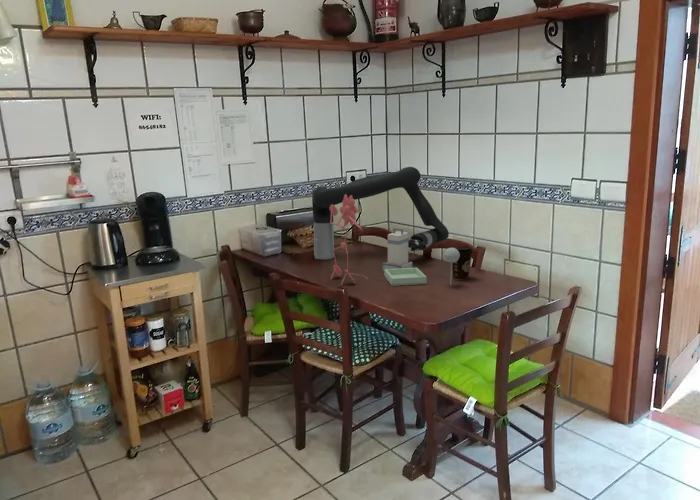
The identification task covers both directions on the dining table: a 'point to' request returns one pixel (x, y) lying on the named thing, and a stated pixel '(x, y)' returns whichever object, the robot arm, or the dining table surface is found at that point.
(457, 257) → the lollipop
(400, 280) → the tray
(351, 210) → the figurine
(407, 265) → the bay
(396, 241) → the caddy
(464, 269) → the coffee cup
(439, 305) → the dining table surface
